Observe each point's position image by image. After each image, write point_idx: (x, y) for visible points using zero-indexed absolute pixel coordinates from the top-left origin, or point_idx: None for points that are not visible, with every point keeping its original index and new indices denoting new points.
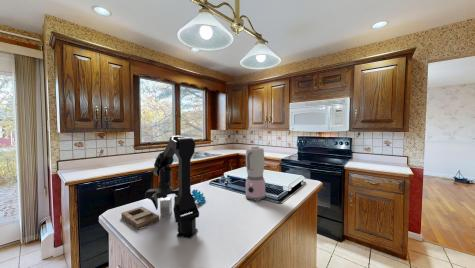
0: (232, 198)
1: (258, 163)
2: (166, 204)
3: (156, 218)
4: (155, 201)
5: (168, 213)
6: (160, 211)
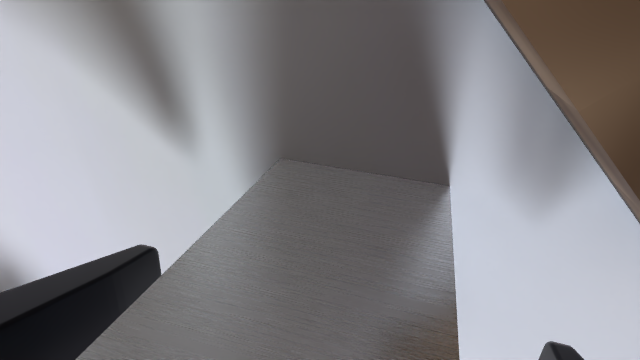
0: None
1: None
2: (225, 325)
3: None
4: None
5: (284, 179)
6: (448, 236)
